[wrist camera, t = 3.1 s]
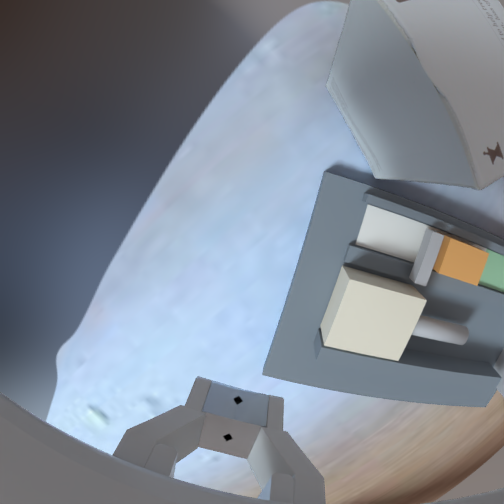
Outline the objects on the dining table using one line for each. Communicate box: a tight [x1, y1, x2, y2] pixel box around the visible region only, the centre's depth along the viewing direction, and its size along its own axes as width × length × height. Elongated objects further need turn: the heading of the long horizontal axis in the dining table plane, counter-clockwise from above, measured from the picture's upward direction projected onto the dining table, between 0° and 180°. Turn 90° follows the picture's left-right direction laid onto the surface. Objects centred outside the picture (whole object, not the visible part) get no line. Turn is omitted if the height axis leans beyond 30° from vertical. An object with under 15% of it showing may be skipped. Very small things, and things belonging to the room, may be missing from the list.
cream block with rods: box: [320, 228, 469, 361], centre depth 21 cm, size 10×12×3 cm
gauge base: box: [263, 172, 504, 407], centre depth 20 cm, size 17×26×7 cm, turn 76°
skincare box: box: [326, 0, 504, 190], centre depth 13 cm, size 8×6×15 cm
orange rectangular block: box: [433, 232, 489, 286], centre depth 20 cm, size 3×4×2 cm, turn 76°
